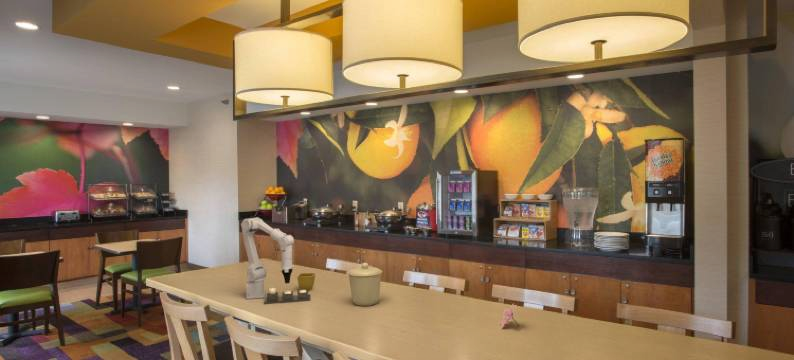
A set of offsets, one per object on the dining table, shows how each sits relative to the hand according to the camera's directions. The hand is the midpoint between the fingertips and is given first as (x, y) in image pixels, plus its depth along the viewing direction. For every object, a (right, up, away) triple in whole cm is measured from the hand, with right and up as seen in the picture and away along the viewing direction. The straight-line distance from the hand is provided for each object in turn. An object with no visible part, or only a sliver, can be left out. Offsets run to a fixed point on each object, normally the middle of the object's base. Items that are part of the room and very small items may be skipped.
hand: (287, 283), depth 246 cm
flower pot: (+6, -9, +22) cm, 24 cm away
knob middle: (0, -8, 0) cm, 8 cm away
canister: (+43, -9, -10) cm, 45 cm away
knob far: (+8, -8, +2) cm, 11 cm away
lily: (+107, -7, -50) cm, 119 cm away
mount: (0, -9, 0) cm, 9 cm away
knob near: (-8, -6, -2) cm, 10 cm away
